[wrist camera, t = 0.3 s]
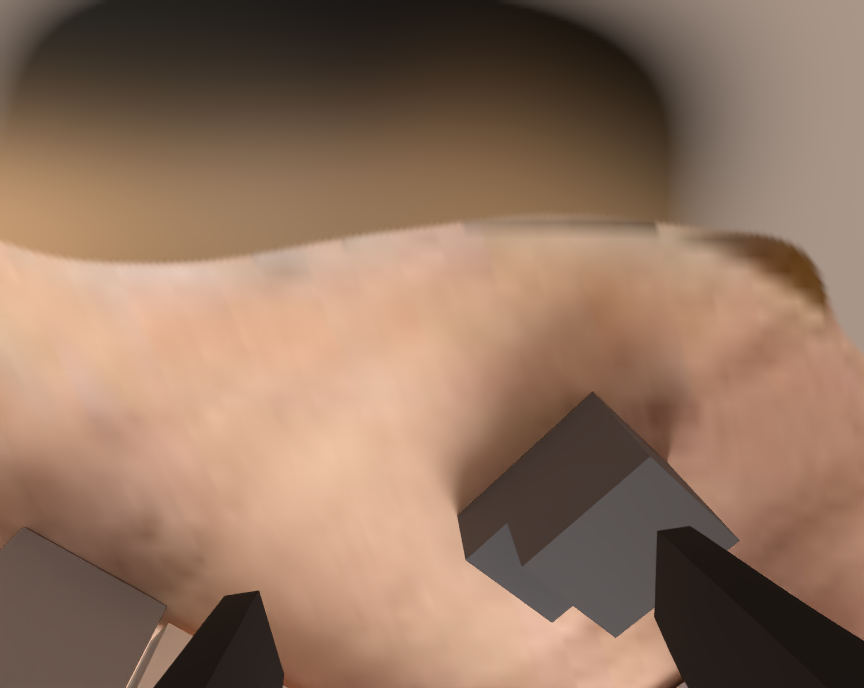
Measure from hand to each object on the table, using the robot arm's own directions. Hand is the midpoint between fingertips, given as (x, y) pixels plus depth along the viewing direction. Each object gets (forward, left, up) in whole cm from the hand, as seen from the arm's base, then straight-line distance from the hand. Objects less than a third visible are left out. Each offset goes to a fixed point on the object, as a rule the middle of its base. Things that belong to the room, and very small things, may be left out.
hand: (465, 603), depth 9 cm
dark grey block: (-7, 0, -9) cm, 11 cm away
